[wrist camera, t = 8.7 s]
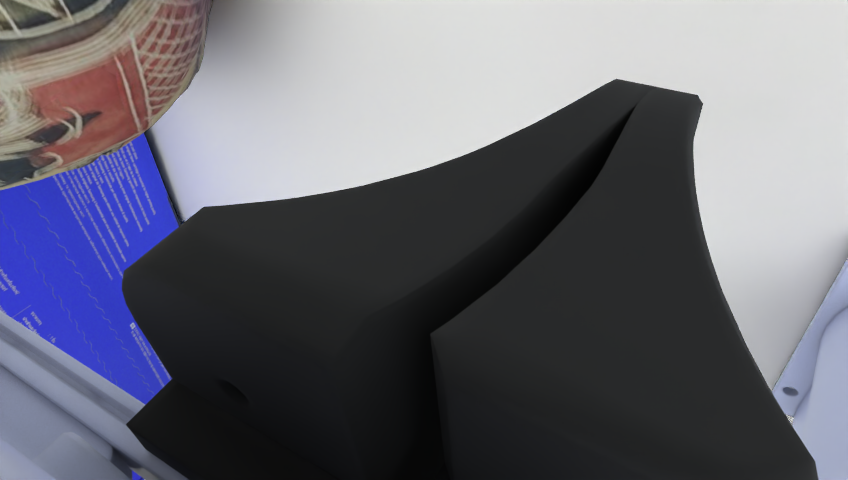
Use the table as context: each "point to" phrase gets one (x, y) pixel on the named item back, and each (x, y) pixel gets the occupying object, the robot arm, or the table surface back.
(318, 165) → the table surface
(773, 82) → the table surface
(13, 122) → the ceramic jug
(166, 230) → the blue cardboard box
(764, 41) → the table surface
